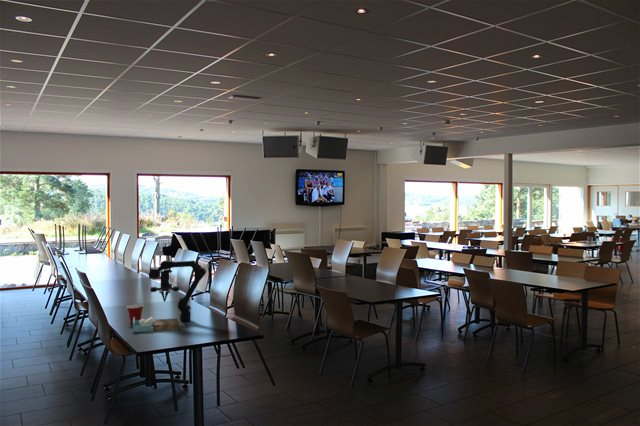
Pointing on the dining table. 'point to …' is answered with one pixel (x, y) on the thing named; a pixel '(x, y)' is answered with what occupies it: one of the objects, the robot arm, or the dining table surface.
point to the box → (141, 327)
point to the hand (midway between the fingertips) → (164, 301)
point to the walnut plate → (165, 324)
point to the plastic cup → (135, 311)
